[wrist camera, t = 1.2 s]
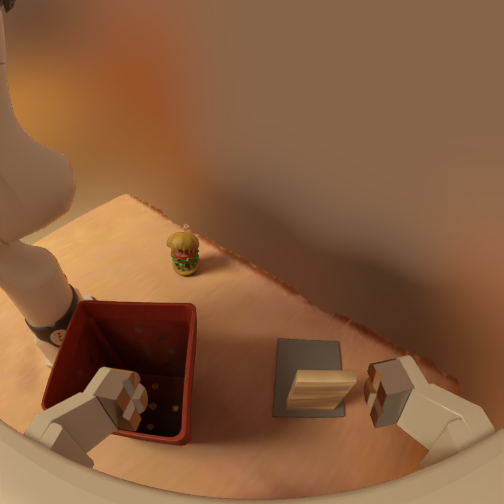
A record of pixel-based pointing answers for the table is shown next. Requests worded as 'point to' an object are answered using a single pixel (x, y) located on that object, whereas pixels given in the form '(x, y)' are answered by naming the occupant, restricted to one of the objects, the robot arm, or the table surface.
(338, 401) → the picture frame
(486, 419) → the robot arm
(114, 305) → the plant pot
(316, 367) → the mat
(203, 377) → the table surface
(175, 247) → the hamburger
